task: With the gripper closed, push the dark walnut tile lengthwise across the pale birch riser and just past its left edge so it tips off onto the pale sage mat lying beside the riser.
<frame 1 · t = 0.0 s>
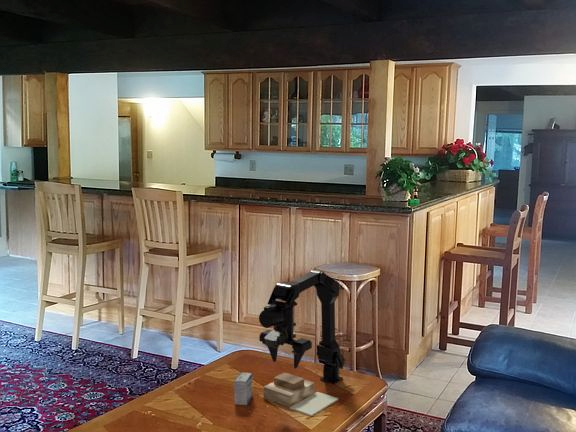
hand: (285, 364, 205), 15 cm above the table, tool pointing down, fingers open, 9 cm apart
birch riser: (289, 395, 215), on the table
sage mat: (314, 404, 208), on the table
medicine box: (243, 400, 211), on the table
walnut tile: (289, 384, 214), point 4 cm above the table, touching birch riser
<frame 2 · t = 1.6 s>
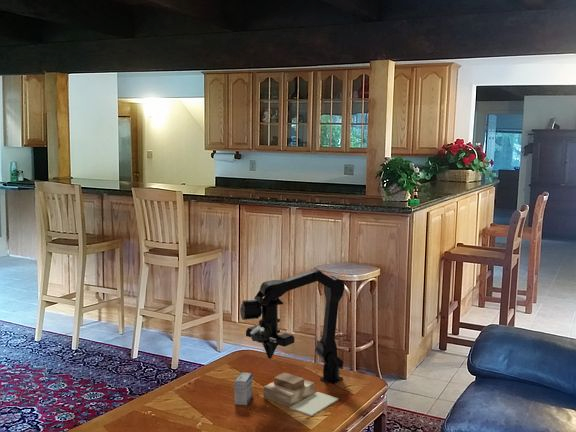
hand: (269, 358, 219), 12 cm above the table, tool pointing down, fingers closed
nothing on the table moved.
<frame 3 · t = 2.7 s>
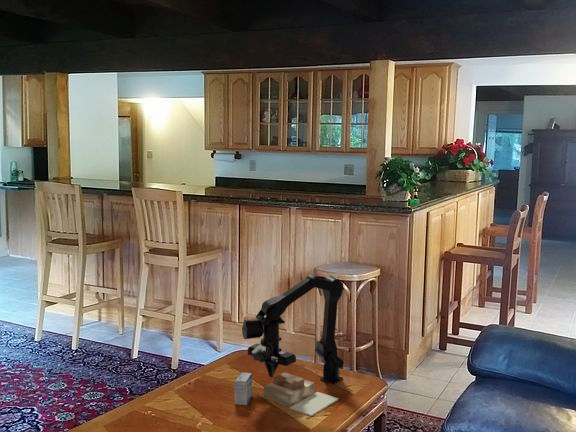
hand: (271, 376, 219), 5 cm above the table, tool pointing down, fingers closed
nothing on the table moved.
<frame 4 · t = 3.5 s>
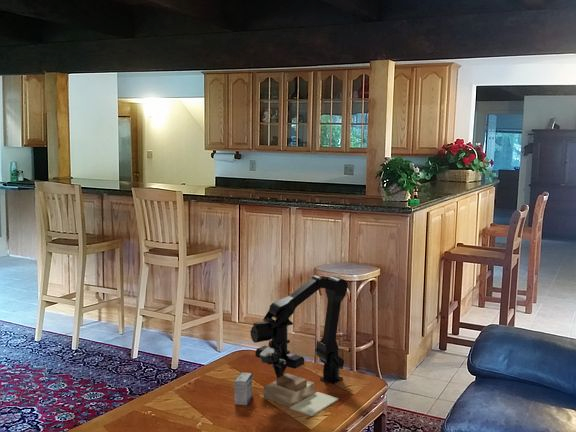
hand: (279, 379, 217), 5 cm above the table, tool pointing down, fingers closed
walnut tile: (291, 385, 213), point 4 cm above the table, touching gripper
everything else where it was.
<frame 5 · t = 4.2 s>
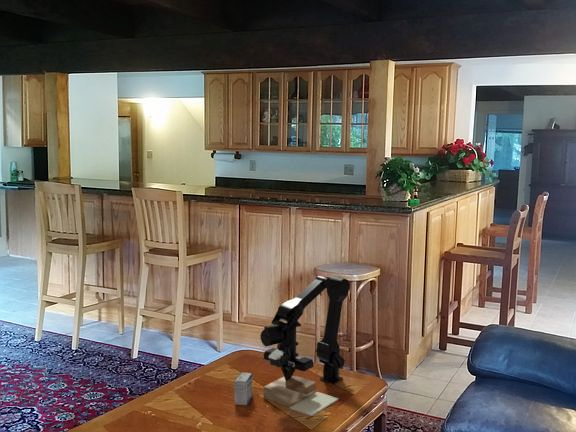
hand: (287, 382, 214), 5 cm above the table, tool pointing down, fingers closed
walnut tile: (300, 388, 211), point 4 cm above the table, touching gripper
everything else where it was.
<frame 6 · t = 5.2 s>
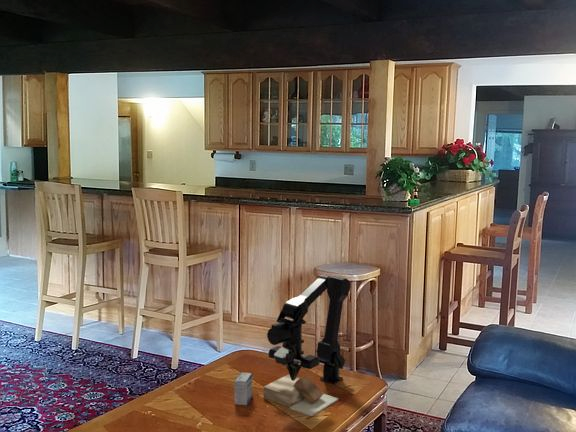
hand: (293, 380, 213), 6 cm above the table, tool pointing down, fingers closed
walnut tile: (306, 391, 210), point 3 cm above the table, tilted 33°, touching birch riser, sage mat
everything else where it was.
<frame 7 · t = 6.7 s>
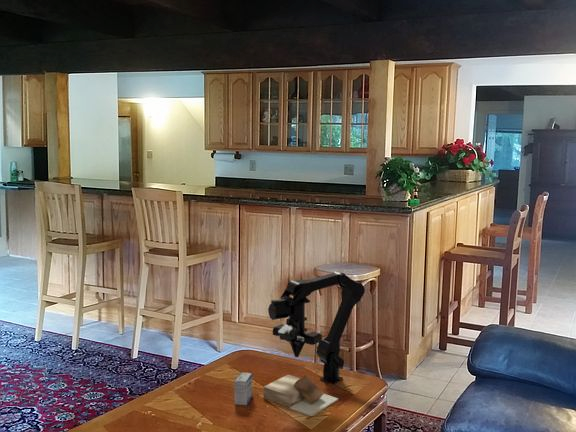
hand: (296, 356, 219), 12 cm above the table, tool pointing down, fingers closed
nothing on the table moved.
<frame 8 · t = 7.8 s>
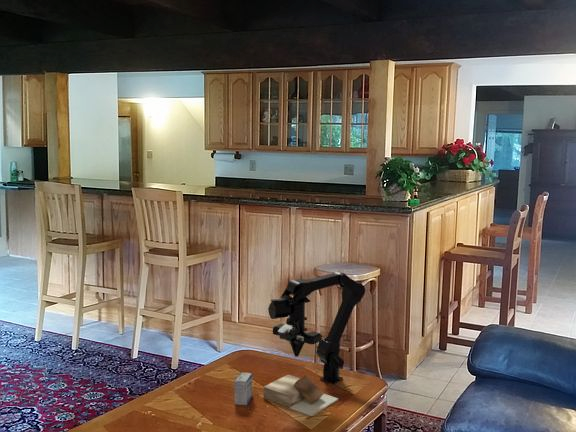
hand: (296, 356, 220), 12 cm above the table, tool pointing down, fingers closed
nothing on the table moved.
at the end: walnut tile point 3.1 cm above the table; walnut tile inside the target area (4.5 cm from its centre), point 3.1 cm above the table; walnut tile touching birch riser, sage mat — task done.
